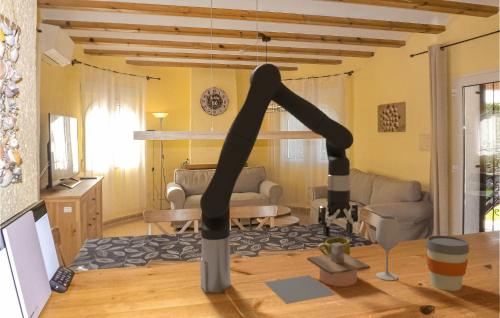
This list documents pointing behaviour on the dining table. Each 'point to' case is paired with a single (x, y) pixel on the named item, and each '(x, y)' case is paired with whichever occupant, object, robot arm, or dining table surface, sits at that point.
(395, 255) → the dining table surface
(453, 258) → the reusable coffee cup
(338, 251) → the lid
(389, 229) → the wineglass
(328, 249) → the mug
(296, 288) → the mat
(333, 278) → the bowl
